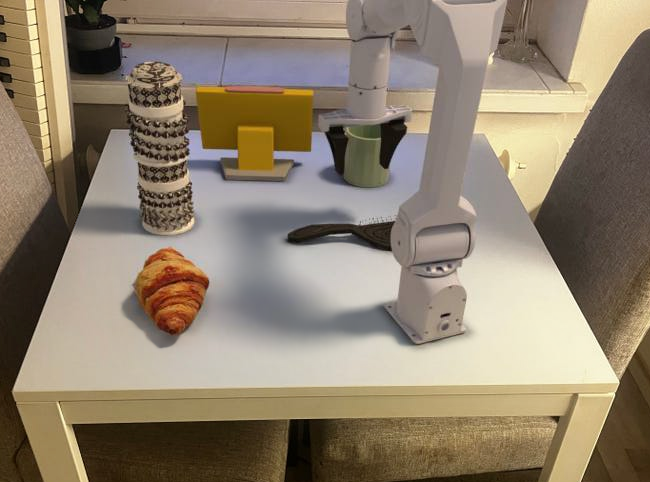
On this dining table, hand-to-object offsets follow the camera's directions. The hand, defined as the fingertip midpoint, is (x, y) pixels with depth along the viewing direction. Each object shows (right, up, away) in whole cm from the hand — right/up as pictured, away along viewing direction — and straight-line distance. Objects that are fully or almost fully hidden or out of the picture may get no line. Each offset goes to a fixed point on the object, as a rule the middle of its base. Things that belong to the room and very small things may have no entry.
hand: (361, 169), depth 121 cm
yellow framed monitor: (-18, +5, +20) cm, 28 cm away
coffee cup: (+2, +3, +20) cm, 20 cm away
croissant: (-27, -22, -13) cm, 37 cm away
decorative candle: (-31, -8, +4) cm, 33 cm away
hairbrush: (+1, -11, +2) cm, 11 cm away
